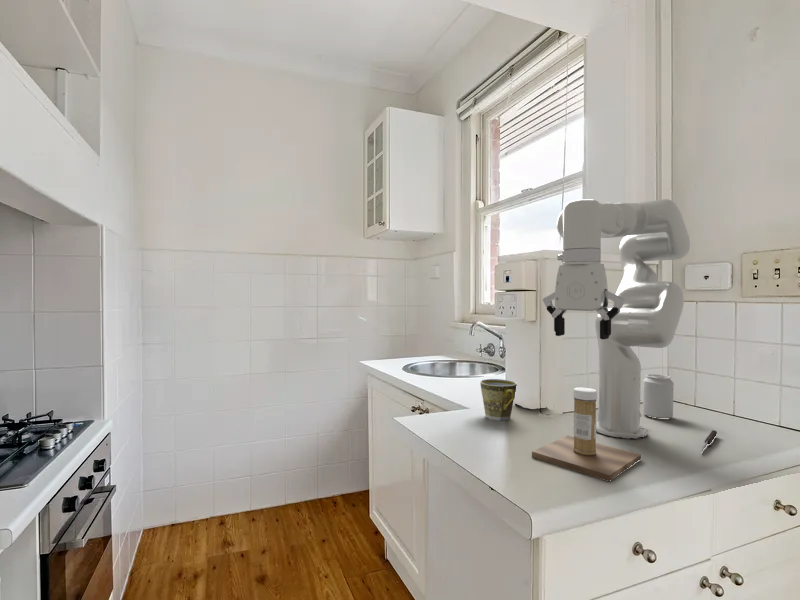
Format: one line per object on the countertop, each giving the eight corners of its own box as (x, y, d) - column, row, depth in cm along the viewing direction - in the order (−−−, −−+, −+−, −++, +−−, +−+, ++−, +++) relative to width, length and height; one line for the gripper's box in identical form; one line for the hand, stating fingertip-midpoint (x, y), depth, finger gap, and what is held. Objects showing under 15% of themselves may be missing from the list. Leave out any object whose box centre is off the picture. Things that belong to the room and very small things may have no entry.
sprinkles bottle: (600, 453, 90) (601, 389, 90) (587, 457, 87) (588, 392, 87) (580, 446, 94) (581, 385, 94) (568, 450, 91) (569, 388, 91)
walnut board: (567, 440, 101) (567, 435, 101) (641, 460, 89) (641, 454, 89) (531, 456, 91) (531, 451, 91) (609, 481, 79) (609, 475, 79)
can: (679, 420, 119) (679, 378, 119) (652, 420, 119) (652, 377, 119) (662, 413, 127) (663, 373, 127) (637, 413, 127) (638, 373, 127)
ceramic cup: (473, 414, 124) (474, 379, 124) (504, 411, 127) (504, 378, 127) (497, 427, 111) (497, 389, 111) (529, 424, 114) (530, 387, 114)
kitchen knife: (712, 437, 106) (712, 429, 106) (717, 438, 105) (717, 430, 105) (698, 456, 93) (698, 447, 93) (703, 458, 92) (703, 448, 92)
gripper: (536, 259, 96) (536, 335, 96) (617, 254, 83) (617, 342, 84) (551, 261, 101) (551, 333, 102) (630, 256, 89) (630, 338, 89)
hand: (581, 337), depth 93 cm, fingers open, 9 cm apart
